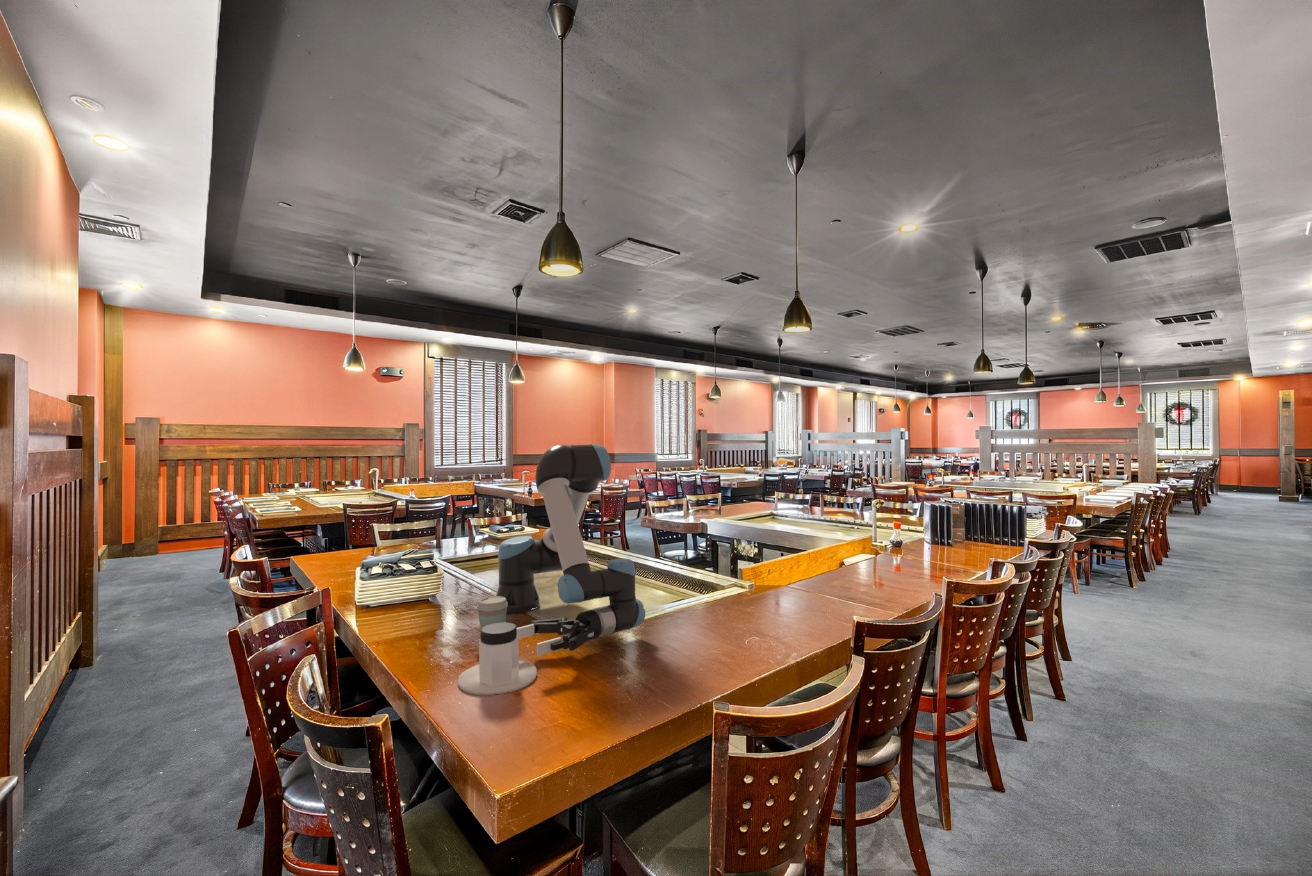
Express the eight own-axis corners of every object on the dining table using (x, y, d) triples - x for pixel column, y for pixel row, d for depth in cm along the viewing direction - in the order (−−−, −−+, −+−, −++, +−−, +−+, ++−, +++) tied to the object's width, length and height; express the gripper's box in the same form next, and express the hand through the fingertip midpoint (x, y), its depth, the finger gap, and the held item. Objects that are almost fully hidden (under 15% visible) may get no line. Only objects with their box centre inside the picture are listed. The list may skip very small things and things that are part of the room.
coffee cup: (493, 635, 166) (493, 594, 166) (514, 640, 162) (514, 597, 162) (470, 644, 159) (469, 601, 159) (492, 649, 154) (491, 605, 154)
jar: (490, 670, 138) (489, 621, 138) (522, 671, 137) (522, 622, 137) (474, 687, 129) (473, 633, 129) (509, 688, 128) (508, 634, 128)
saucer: (446, 677, 136) (446, 673, 136) (514, 658, 148) (514, 654, 148) (478, 703, 123) (478, 698, 123) (550, 679, 135) (550, 674, 135)
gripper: (623, 649, 144) (549, 672, 130) (569, 626, 163) (500, 644, 149) (622, 620, 144) (549, 639, 130) (569, 600, 163) (500, 615, 149)
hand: (523, 642), depth 140 cm, fingers open, 13 cm apart
